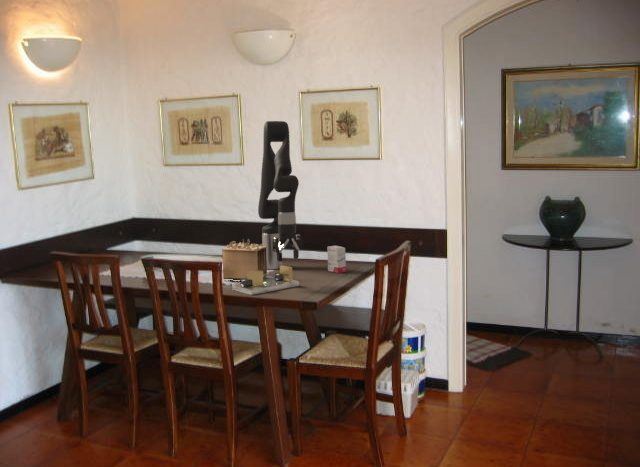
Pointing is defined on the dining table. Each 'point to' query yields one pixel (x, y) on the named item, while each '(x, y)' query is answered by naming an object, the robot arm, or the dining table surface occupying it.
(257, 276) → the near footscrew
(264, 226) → the robot arm
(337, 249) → the ink box
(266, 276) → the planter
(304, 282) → the dining table surface
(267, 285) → the levelling plate
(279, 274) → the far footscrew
